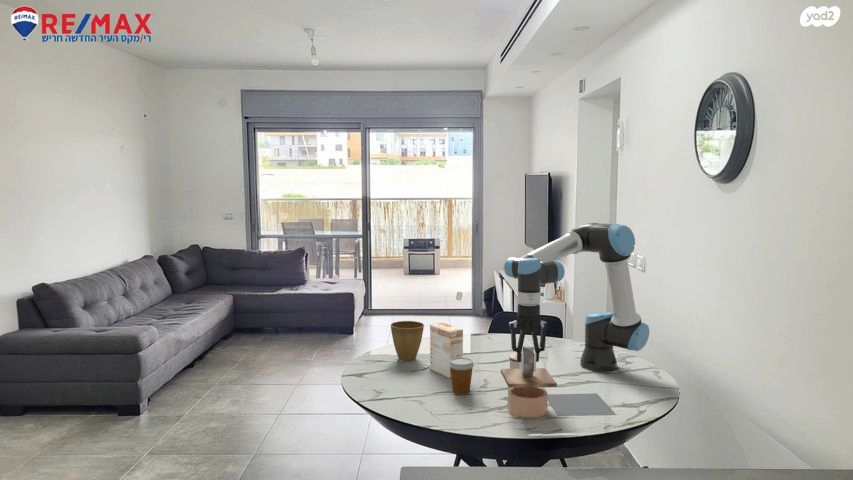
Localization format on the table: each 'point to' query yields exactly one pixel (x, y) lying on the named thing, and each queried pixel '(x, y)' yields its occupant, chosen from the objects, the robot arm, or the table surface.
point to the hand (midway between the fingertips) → (527, 370)
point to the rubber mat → (579, 404)
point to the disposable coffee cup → (461, 375)
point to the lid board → (528, 382)
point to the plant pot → (407, 339)
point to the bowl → (527, 401)
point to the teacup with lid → (514, 361)
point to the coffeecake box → (444, 347)
